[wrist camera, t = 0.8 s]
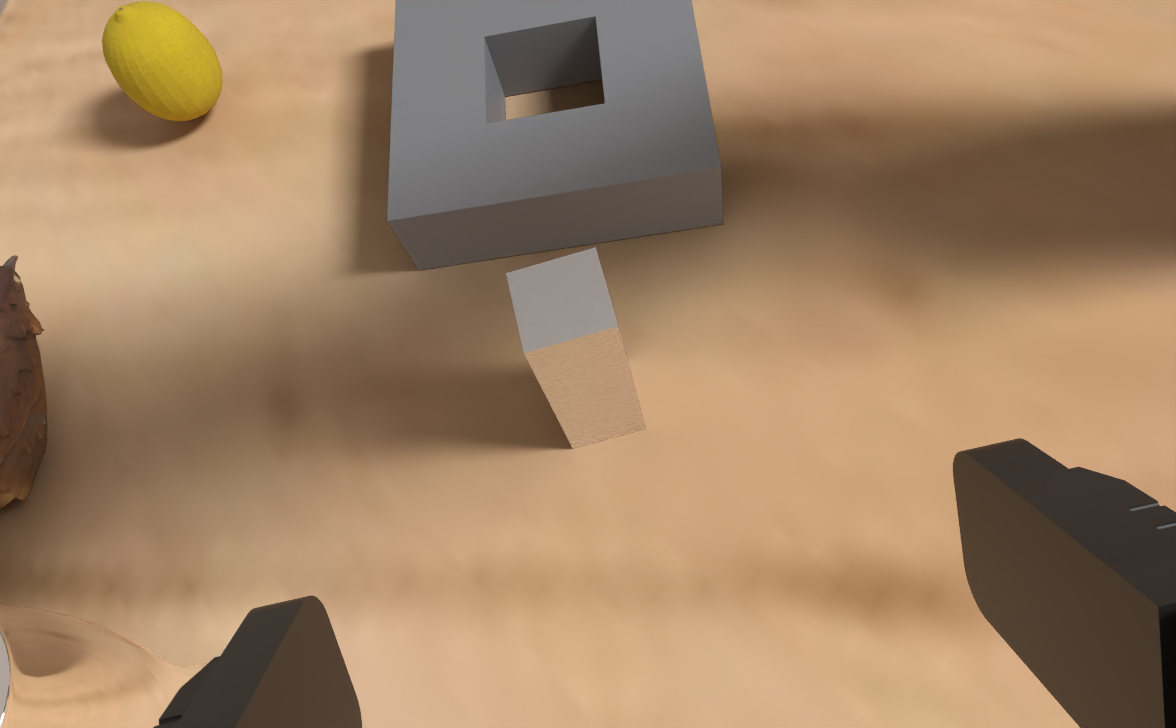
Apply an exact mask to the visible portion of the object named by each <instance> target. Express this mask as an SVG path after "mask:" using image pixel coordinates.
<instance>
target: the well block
mask: <svg viewBox="0 0 1176 728" xmlns="http://www.w3.org/2000/svg"><path fill="white" fill-rule="evenodd" d="M598 80H603V90H604V99H605V103H604V104H598V105H592V106H586V107H580V108H575V109H569V110H563V111H557V112H551V113H545V114H540V115H534V116H528V117H522V118H516V119H510V120H506V109H505V97H506V96H512V95H517V94H523V93H529V92H535V91H540V90H546V89H552V88H558V87H563V86H569V85H575V84H580V83H586V82H592V81H598ZM387 222H388V223H389V225H390V227H391V228H392V230H393V231H394V233H395V234H396V236H397V237H398V239H399V241H400V242H401V244H402V245H403V247H404V248H405V250H406V252H407V253H408V255H409V256H410V258H411V259H412V261H413V262H414V264H415V266H416V267H417V269H418V270H425V269H431V268H438V267H444V266H451V265H457V264H464V263H470V262H477V261H484V260H490V259H497V258H503V257H510V256H516V255H523V254H529V253H536V252H542V251H549V250H556V249H562V248H569V247H575V246H582V245H588V244H595V243H601V242H608V241H615V240H621V239H628V238H634V237H641V236H647V235H654V234H660V233H667V232H673V231H680V230H687V229H693V228H700V227H706V226H713V225H719V224H723V204H722V173H721V163H720V157H719V152H718V146H717V141H716V135H715V129H714V124H713V118H712V113H711V107H710V101H709V96H708V90H707V85H706V79H705V73H704V68H703V62H702V57H701V51H700V45H699V40H698V34H697V28H696V23H695V17H694V12H693V6H692V0H396V7H395V32H394V58H393V83H392V108H391V133H390V159H389V184H388V209H387Z"/></svg>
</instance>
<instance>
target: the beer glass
mask: <svg viewBox="0 0 1176 728" xmlns="http://www.w3.org/2000/svg"><path fill="white" fill-rule="evenodd" d="M206 665H207V664H202V665H194V666H179V665H176V664H173V663H171V662H169V661H167V660H165V659H164V658H162V657H160V656H158V655H157V654H155V653H153V652H152V651H150V650H148V649H146V648H144V647H143V646H141V645H139V644H137V643H135V642H134V641H132V640H130V639H128V638H126V637H124V636H122V635H120V634H118V633H115V632H113V631H111V630H109V629H106V628H104V627H102V626H100V625H97V624H94V623H91V622H88V621H84V620H81V619H77V618H74V617H70V616H67V615H63V614H59V613H53V612H48V611H43V610H38V609H33V608H27V607H19V606H11V605H4V604H0V728H153V727H154V726H157V725H159V718H160V717H161V715H162V714H163V712H164V711H165V709H166V708H167V707H168V705H169V704H170V702H171V701H172V699H173V698H174V696H175V695H176V693H177V692H178V690H179V689H180V688H181V687H182V686H183V685H184V684H185V683H186V682H188V681H189V680H190V679H191V678H192V677H193V676H194V675H195V674H197V673H198V672H199V671H200V670H201V669H202V668H203V667H205V666H206Z"/></svg>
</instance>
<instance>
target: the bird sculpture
mask: <svg viewBox="0 0 1176 728" xmlns="http://www.w3.org/2000/svg"><path fill="white" fill-rule="evenodd" d="M17 259H18V256H12V257H11V258H10V259H9V260H7V261H6V263H5V264H4V265H3V266H0V508H3V507H4V506H5V505H7V504H8V503H9V502H10V501H11V500H13V499H20V500H25V499H26V497H27V495H28V494H29V492H30V490H31V487H32V484H33V480H34V476H35V473H36V471H37V468H38V466H39V463H40V460H41V457H42V456H43V454H44V452H45V447H46V440H47V415H46V393H45V383H44V376H43V370H42V364H41V358H40V351H39V348H38V344H37V341H36V336H35V335H40V334H41V333H42V331H44V329H43V328H42V327H41V324H40V322H39V321H38V320H37V318H36V317H35V316H34V315H33V313H32V312H31V310H30V309H29V303H28V302H27V301H26V298H25V293H24V288H23V284H22V283H21V281H20V277H19V275H18V274H17V273H16V272H15V264H16V261H17Z"/></svg>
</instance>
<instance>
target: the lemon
mask: <svg viewBox="0 0 1176 728" xmlns="http://www.w3.org/2000/svg"><path fill="white" fill-rule="evenodd" d="M102 44H103V53H104V57H105V60H106V62H107V64H108V66H109V68H110V70H111V72H112V74H113V76H114V78H115V80H116V81H117V83H118V84H119V86H120V87H121V88H122V90H123V91H124V92H125V93H126V94H127V95H128V96H129V97H130V98H131V99H132V100H133V101H134V102H135V103H137V104H138V105H139V106H140V107H141V108H143V109H144V110H145V111H147V112H149V113H151V114H153V115H155V116H157V117H160V118H163V119H166V120H172V121H187V120H192V119H195V118H198V117H200V116H202V115H205V114H207V112H208V111H209V110H210V109H211V108H212V107H213V106H214V105H215V103H216V102H217V100H218V98H219V96H220V92H221V89H222V70H221V66H220V63H219V61H218V58H217V55H216V53H215V51H214V49H213V47H212V46H211V44H210V43H209V41H208V40H207V39H206V37H205V36H204V35H203V34H202V33H201V32H200V31H199V29H198V28H197V27H196V26H195V25H194V24H193V23H192V22H191V21H189V20H188V19H187V18H186V17H185V16H183V15H182V14H181V13H179V12H177V11H176V10H174V9H172V8H170V7H168V6H166V5H163V4H159V3H154V2H136V3H131V4H128V5H125V6H120V7H119V8H117V10H116V12H115V13H114V14H113V15H112V16H111V17H110V19H109V20H108V22H107V24H106V26H105V29H104V33H103V38H102Z"/></svg>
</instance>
